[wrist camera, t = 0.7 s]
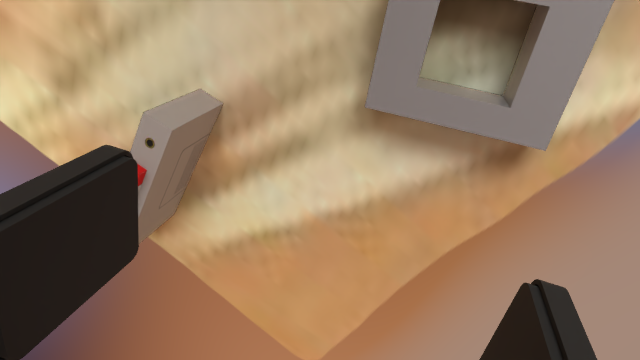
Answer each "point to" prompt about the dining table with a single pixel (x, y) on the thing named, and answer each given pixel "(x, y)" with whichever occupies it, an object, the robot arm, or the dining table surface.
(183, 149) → the cassette player
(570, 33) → the socket dock
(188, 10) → the dining table surface
